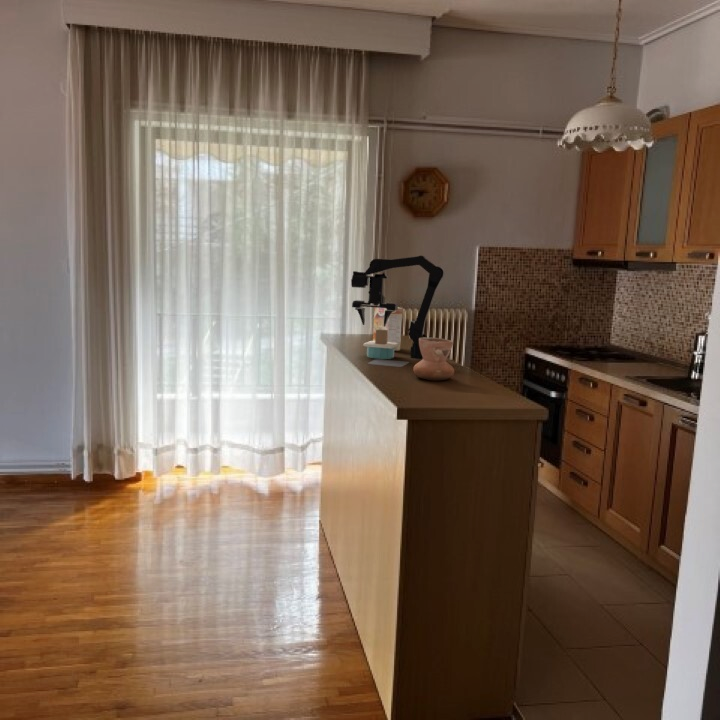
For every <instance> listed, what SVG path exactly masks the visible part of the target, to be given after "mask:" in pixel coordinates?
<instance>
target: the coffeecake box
mask: <svg viewBox="0 0 720 720" xmlns="http://www.w3.org/2000/svg"><path fill="white" fill-rule="evenodd" d="M386 310H387V309H386V308H377V307H374V313H373V315H374V316H373V333H372V334H373V335H372V341H375V338H376V330H378V329H379V330H388V334H387V342H392V343H398V346H396V347H394V352H395V351H396V352H397V351H401V341H402V340H401V337H402V324H403V320H402V319H403V307H399V306H398V310H395V311H394V312H392V313H391V314H390V316H389V318H388V321H387V323H386V326H385V327H384V315H385V311H386Z"/></svg>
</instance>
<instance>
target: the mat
mask: <svg viewBox="0 0 720 720" xmlns="http://www.w3.org/2000/svg"><path fill="white" fill-rule="evenodd" d="M409 363H410V362H409V361H404V360H394V359H393V360H391V359H377V358H374V359H373V360H371V361H369V362H367V363H366V364H367V365H376V366H386V367H397V368H398V367H399V368H403V367H404V366H406V365H408V364H409Z"/></svg>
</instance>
